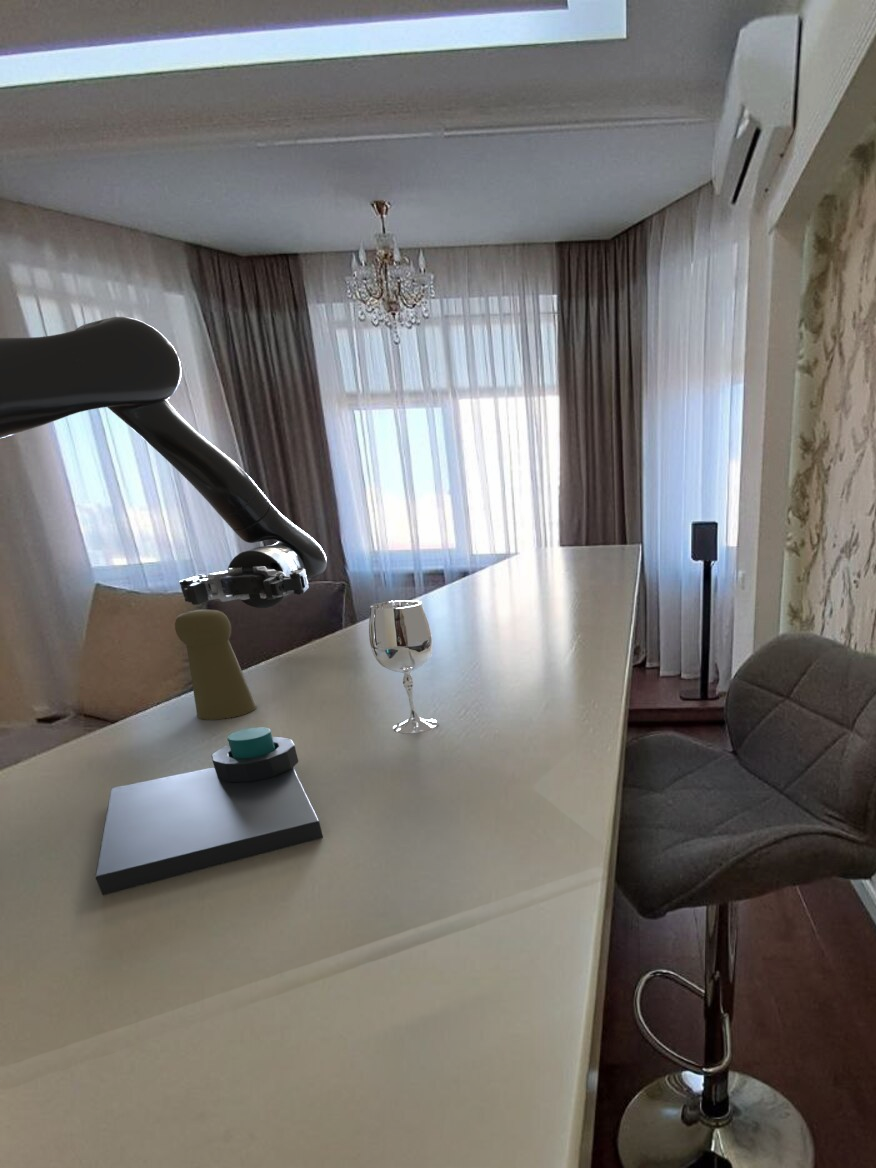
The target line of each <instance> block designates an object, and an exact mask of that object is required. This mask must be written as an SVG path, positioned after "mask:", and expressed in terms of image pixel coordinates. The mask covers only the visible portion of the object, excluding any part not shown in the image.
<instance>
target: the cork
mask: <svg viewBox="0 0 876 1168" xmlns="http://www.w3.org/2000/svg"><path fill="white" fill-rule="evenodd" d="M174 630H175V633H176V636H177V638H178V639H179V640H180V642H182V643H183V644H184V645H186V651H187V652H186V653H187V659H188V665H189V670H190V677H191V683H192V684H191V685H192V690H193V698H194V704H195V712H196V717H197V718H198V719H200V720H206V721H207V720H208V721H215V720H224V719H225V718H226V719H232V718H235V717H236V716H237V717H240V716H243V715H247V714H249V713H251V712H254V711H255V710H256V709H257V703H256V701H255V698H254V696H253V694H252V692H251V689H250V687H249V684H248V682H247V680H246V677H245V675H244V673H243V671H242V668H241V665H240V663H239V661H238V658H237V657H236V653H235V651H234V649H233V647H232V644H231V642H230V638H231V635H232V625H231V621H230V619H229V618H228V616H227V615H226V614H225V613H224V612H223V611H220V610H217V609H206V608H205V609H195V610H191V611H187V612H184V613H181V614H178V616H177V617H176V619H175V622H174ZM231 717H232V718H231ZM226 719H225V720H226Z"/></svg>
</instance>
